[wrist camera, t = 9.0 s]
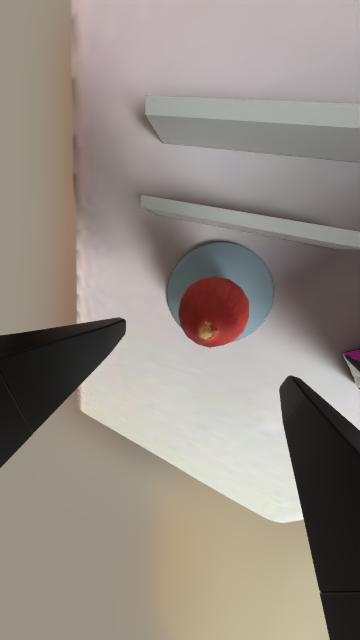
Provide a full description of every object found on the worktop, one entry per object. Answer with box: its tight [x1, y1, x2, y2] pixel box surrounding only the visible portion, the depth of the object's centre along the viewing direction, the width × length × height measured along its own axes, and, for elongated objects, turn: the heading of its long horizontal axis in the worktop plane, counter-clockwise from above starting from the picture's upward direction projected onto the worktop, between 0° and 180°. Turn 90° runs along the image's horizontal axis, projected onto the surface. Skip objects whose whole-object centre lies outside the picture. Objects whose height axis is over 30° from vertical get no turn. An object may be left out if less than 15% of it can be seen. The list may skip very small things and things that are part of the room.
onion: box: [178, 276, 249, 348], centre depth 12 cm, size 6×6×8 cm
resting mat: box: [167, 242, 274, 342], centre depth 16 cm, size 11×11×1 cm
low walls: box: [140, 95, 360, 249], centre depth 11 cm, size 16×6×3 cm, turn 79°
